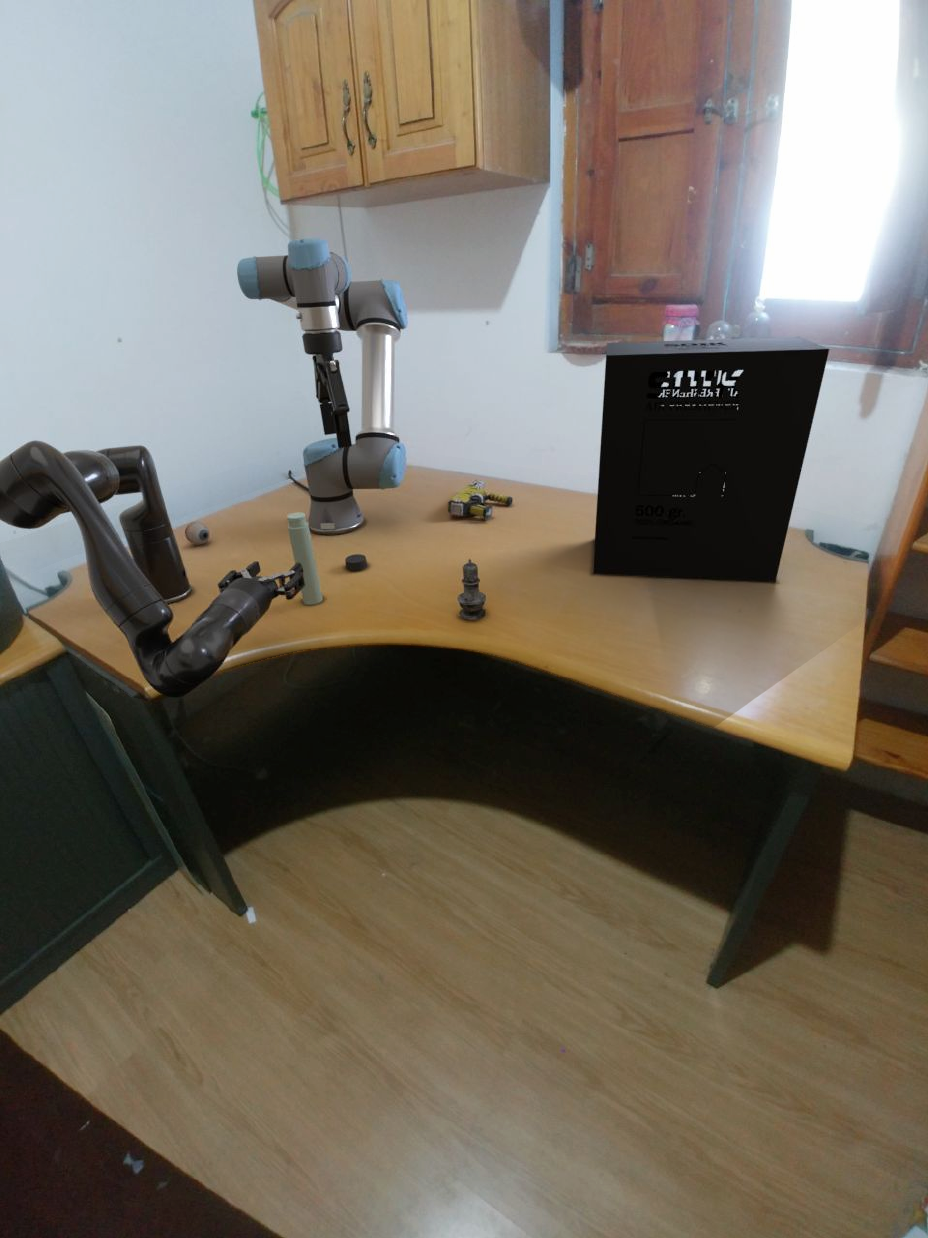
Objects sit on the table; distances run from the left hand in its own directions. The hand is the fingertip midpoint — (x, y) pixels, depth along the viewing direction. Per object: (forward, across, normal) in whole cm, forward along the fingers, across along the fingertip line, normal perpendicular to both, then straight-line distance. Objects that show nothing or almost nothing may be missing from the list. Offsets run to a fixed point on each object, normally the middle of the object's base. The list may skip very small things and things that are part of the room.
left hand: (278, 566), depth 114 cm
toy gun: (+70, -30, +14) cm, 78 cm away
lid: (+28, -4, +12) cm, 31 cm away
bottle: (+11, 0, +14) cm, 17 cm away
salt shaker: (+7, -36, +13) cm, 39 cm away
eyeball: (+40, +43, +14) cm, 60 cm away
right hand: (+29, -4, -16) cm, 33 cm away
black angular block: (+36, -79, +13) cm, 88 cm away
